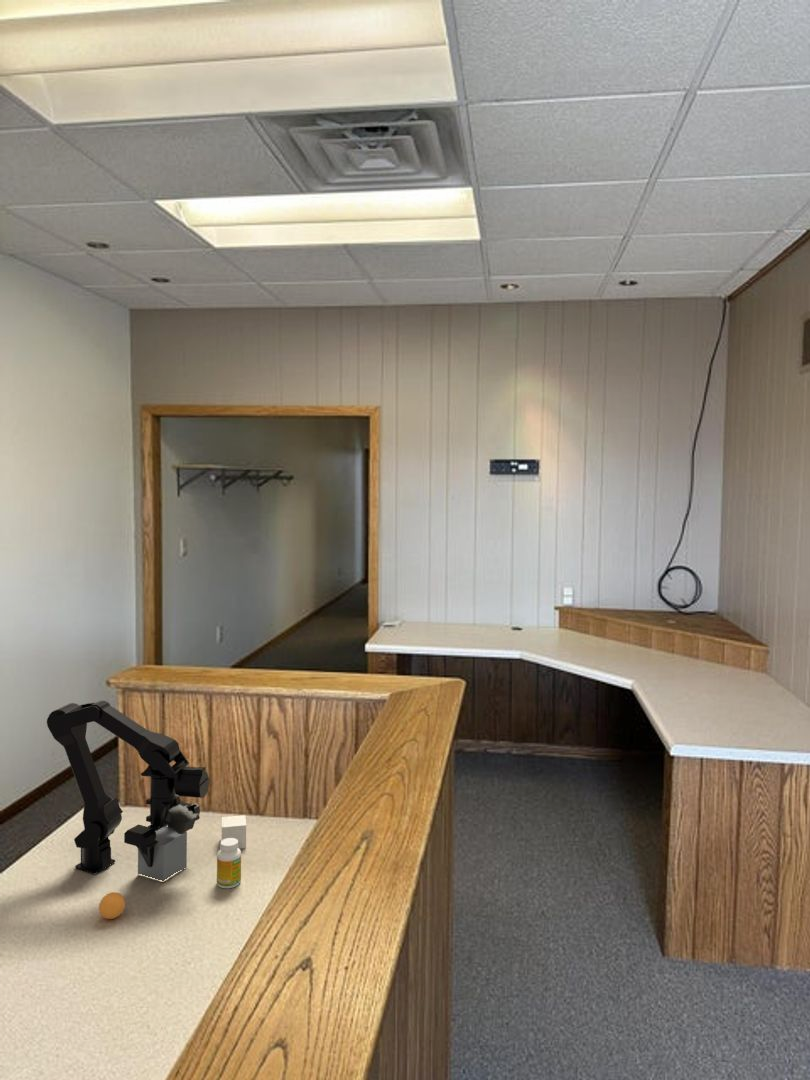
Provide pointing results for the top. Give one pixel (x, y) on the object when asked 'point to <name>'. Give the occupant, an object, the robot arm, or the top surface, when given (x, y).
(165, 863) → the grey upright block
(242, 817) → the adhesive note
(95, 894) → the top surface
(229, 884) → the supplement bottle
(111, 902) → the ball
